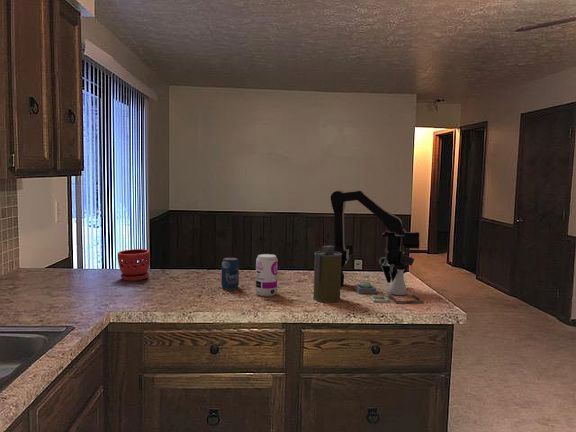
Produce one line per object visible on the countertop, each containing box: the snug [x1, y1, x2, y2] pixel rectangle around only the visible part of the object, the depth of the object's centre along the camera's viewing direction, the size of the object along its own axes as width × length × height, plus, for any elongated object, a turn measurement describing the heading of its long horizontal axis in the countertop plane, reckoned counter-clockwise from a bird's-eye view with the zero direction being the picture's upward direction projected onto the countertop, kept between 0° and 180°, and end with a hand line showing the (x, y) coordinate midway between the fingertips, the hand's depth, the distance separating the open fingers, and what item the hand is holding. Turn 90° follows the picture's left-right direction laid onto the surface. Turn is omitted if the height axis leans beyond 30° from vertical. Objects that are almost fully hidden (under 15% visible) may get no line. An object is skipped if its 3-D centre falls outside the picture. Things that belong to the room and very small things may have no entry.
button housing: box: [354, 283, 377, 295], centre depth 194 cm, size 7×7×2 cm
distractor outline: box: [369, 295, 391, 303], centre depth 181 cm, size 6×6×1 cm
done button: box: [360, 281, 371, 288], centre depth 194 cm, size 4×4×2 cm
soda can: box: [220, 256, 240, 291], centre depth 194 cm, size 7×7×12 cm
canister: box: [312, 244, 342, 304], centre depth 180 cm, size 11×10×20 cm
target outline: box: [387, 294, 424, 305], centre depth 182 cm, size 10×10×1 cm
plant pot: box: [117, 248, 151, 282], centre depth 206 cm, size 13×13×12 cm
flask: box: [388, 269, 408, 296], centre depth 190 cm, size 7×7×10 cm
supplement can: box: [255, 253, 279, 297], centre depth 186 cm, size 8×8×15 cm
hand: (391, 285), depth 198 cm, fingers open, 7 cm apart
